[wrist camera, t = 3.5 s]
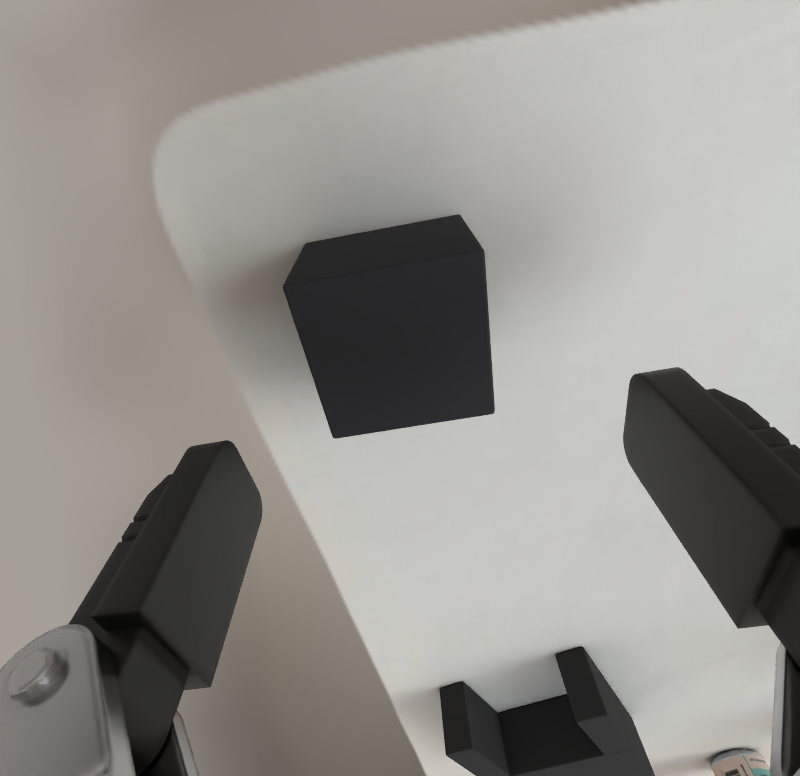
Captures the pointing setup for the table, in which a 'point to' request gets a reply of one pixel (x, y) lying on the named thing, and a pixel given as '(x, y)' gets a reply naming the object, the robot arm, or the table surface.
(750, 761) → the beer can
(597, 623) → the table surface
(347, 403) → the black block
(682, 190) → the table surface
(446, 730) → the black flat forked piece
